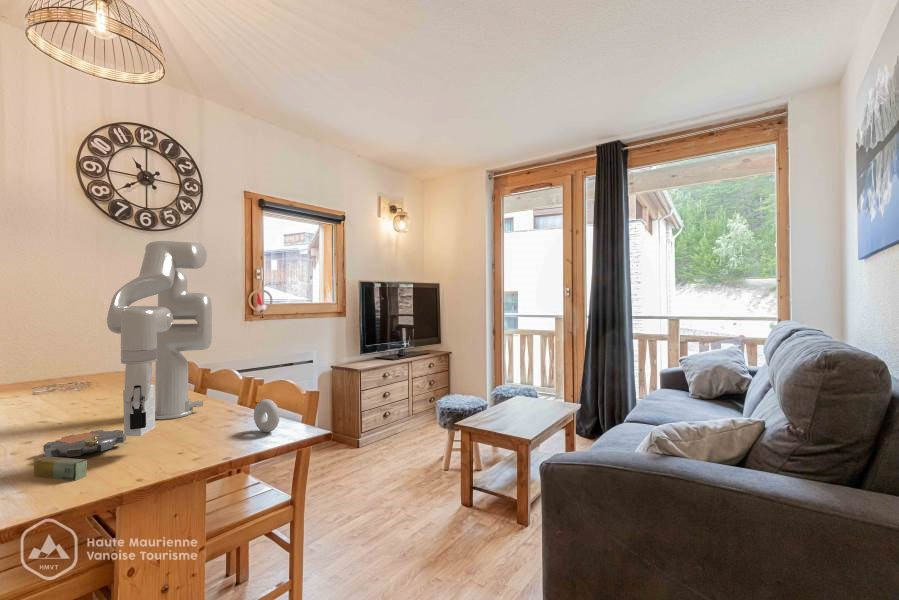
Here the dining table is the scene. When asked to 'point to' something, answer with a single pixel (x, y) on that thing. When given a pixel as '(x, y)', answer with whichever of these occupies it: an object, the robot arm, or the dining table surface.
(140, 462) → the dining table surface
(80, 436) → the notched metal plate
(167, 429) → the dining table surface
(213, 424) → the dining table surface
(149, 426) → the skincare box
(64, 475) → the medication box
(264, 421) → the donut
